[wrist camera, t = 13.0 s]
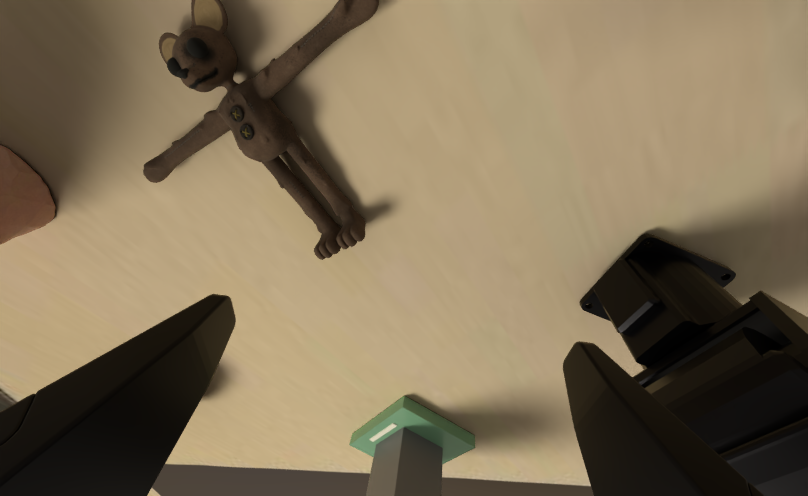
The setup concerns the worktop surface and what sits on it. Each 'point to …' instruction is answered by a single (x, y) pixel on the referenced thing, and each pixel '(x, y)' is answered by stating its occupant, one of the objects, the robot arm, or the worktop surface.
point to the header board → (413, 429)
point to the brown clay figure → (260, 109)
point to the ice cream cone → (21, 197)
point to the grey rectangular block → (406, 466)
